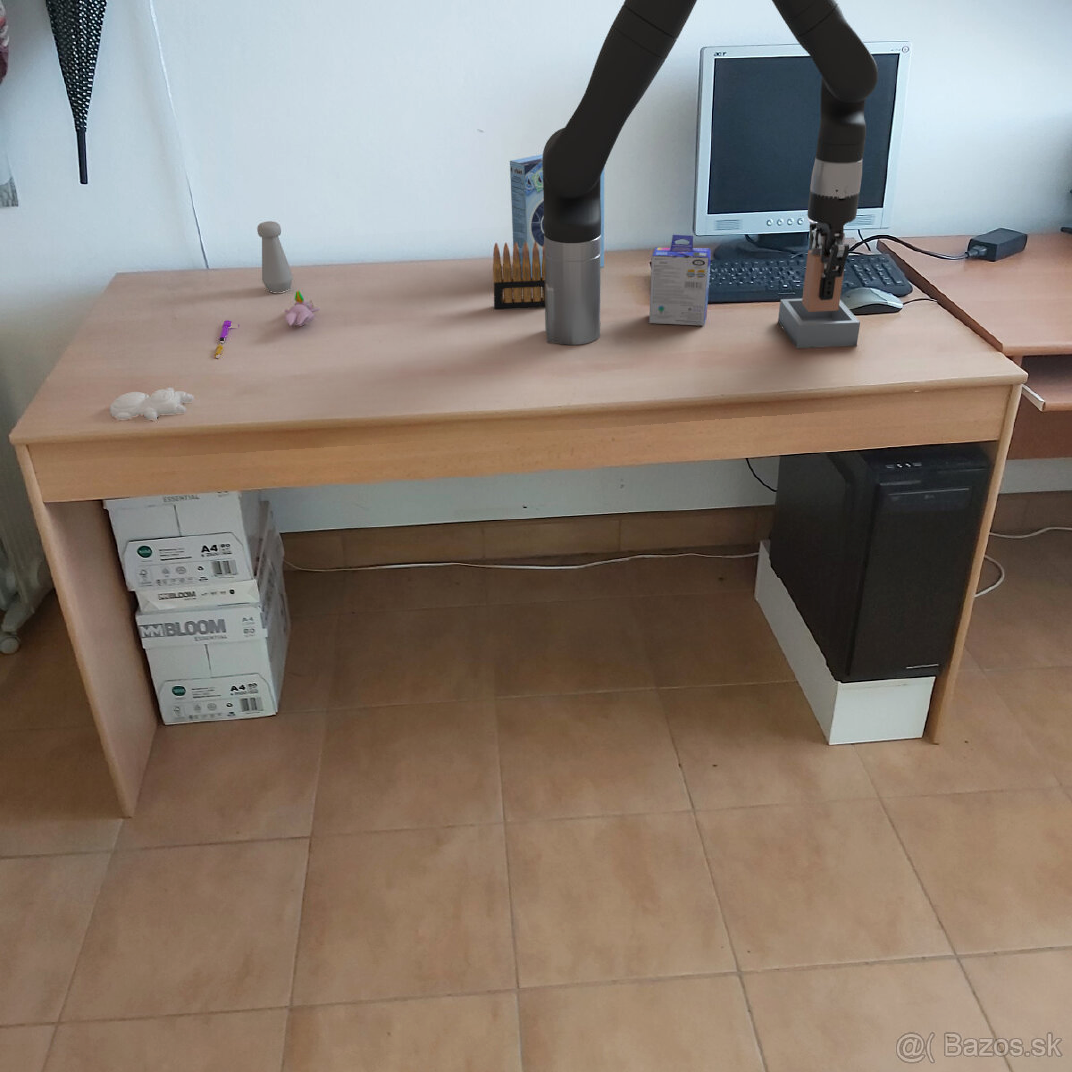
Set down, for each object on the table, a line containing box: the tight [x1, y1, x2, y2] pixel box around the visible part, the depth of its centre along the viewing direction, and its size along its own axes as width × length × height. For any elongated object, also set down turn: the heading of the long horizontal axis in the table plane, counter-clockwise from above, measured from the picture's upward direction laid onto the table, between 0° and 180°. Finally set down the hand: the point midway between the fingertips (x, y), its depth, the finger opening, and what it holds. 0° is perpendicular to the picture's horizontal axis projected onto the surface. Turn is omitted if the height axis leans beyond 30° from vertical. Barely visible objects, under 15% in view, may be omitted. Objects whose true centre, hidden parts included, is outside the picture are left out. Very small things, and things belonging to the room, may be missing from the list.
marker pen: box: [214, 319, 233, 358], centre depth 175 cm, size 3×1×16 cm
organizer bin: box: [777, 298, 861, 349], centre depth 169 cm, size 10×12×4 cm
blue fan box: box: [509, 153, 605, 278], centre depth 193 cm, size 20×5×23 cm, turn 127°
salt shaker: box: [256, 220, 294, 292], centre depth 192 cm, size 6×6×13 cm
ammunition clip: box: [492, 241, 545, 311], centre depth 182 cm, size 11×2×12 cm, turn 93°
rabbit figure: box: [284, 290, 320, 326], centre depth 179 cm, size 6×6×15 cm
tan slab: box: [802, 247, 846, 312], centre depth 165 cm, size 5×4×10 cm
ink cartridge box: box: [648, 234, 712, 327], centre depth 173 cm, size 10×6×14 cm, turn 78°
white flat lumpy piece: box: [109, 387, 195, 420], centre depth 152 cm, size 9×12×3 cm
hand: (821, 293), depth 167 cm, fingers closed on tan slab, 4 cm apart
